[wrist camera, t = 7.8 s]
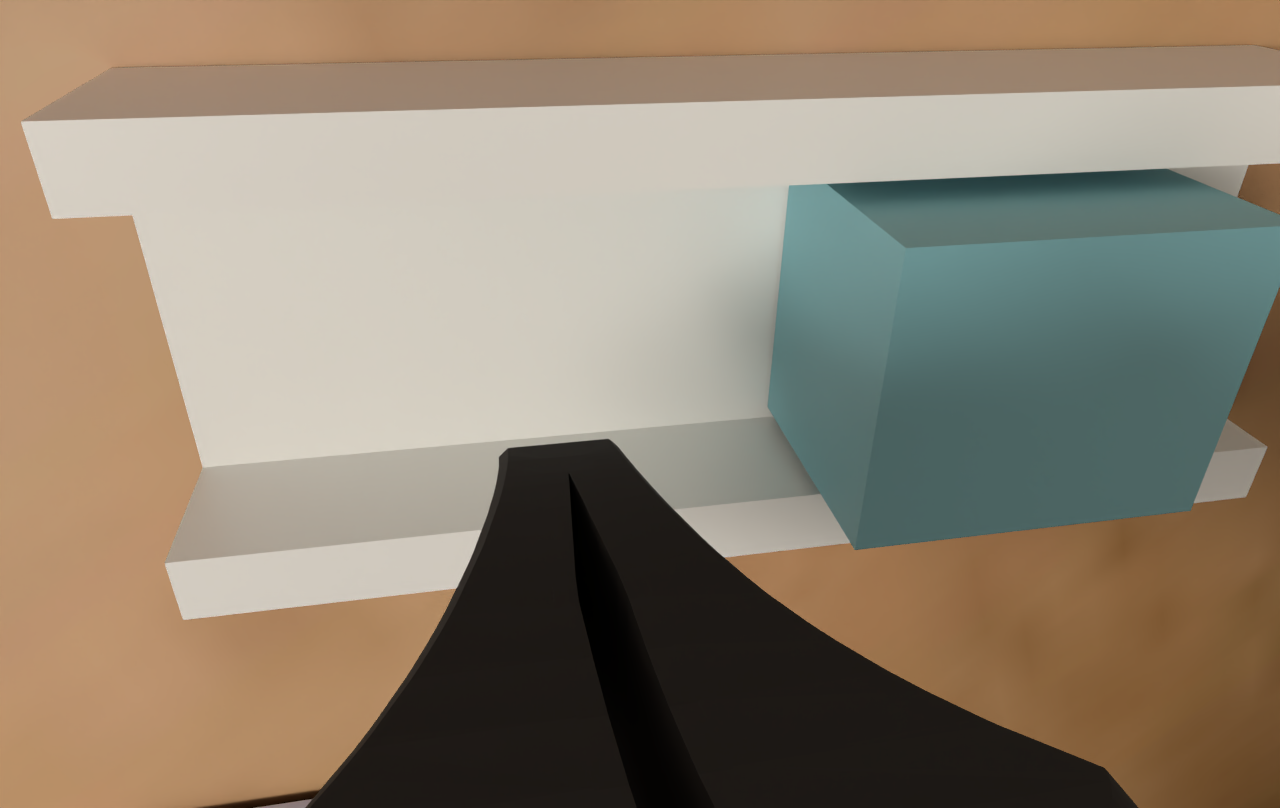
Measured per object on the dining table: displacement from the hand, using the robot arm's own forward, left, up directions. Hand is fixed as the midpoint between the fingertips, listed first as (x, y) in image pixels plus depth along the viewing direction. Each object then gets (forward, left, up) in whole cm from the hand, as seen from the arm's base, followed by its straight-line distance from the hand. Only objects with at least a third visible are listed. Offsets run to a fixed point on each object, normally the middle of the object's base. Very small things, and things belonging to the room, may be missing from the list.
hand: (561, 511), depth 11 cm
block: (0, -8, -6) cm, 10 cm away
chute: (0, -4, -7) cm, 8 cm away
